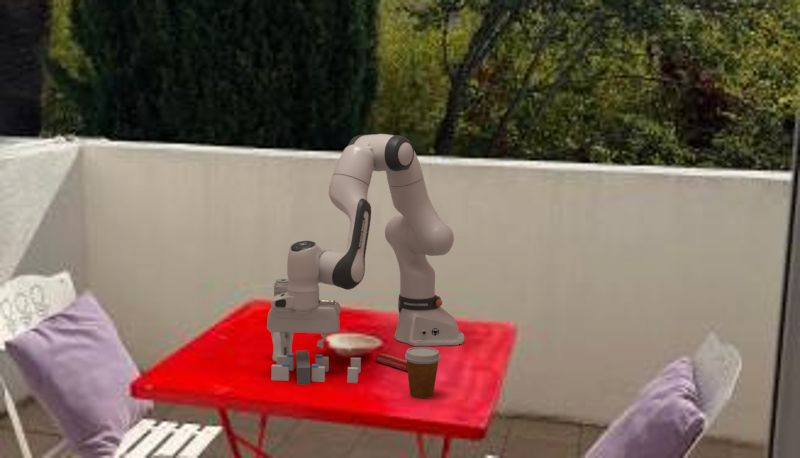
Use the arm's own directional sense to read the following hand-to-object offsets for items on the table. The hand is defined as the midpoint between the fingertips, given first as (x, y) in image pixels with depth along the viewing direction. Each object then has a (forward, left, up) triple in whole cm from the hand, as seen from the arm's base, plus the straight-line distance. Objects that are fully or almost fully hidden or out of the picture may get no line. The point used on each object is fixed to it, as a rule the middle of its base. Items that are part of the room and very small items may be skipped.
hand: (303, 347), depth 287 cm
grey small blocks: (-4, 0, -8) cm, 9 cm away
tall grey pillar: (0, 0, -8) cm, 8 cm away
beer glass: (+8, -14, -8) cm, 18 cm away
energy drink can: (+14, -53, -8) cm, 55 cm away
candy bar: (-26, -11, -9) cm, 29 cm away
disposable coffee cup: (-34, +13, -8) cm, 37 cm away
